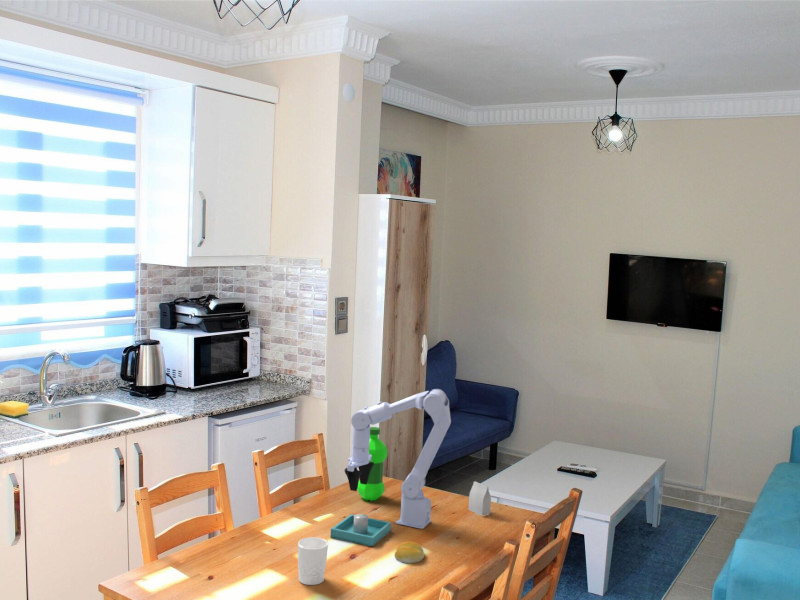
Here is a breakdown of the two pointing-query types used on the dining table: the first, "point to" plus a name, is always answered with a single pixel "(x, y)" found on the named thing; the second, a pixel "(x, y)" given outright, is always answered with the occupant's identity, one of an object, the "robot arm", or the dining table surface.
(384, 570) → the dining table surface
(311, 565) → the white cup
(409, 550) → the bread roll
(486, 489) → the white gable top carton
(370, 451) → the plastic bottle
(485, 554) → the dining table surface
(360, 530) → the white cylinder
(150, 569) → the dining table surface
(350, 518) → the tray
